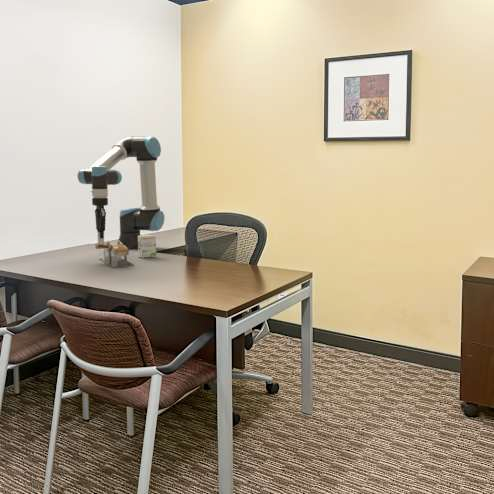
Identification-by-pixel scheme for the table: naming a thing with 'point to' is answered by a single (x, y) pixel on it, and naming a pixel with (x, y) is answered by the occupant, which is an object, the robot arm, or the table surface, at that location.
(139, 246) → the ink box
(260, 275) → the table surface
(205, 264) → the table surface
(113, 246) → the lever
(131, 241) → the robot arm
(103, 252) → the white open box
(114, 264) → the stand
